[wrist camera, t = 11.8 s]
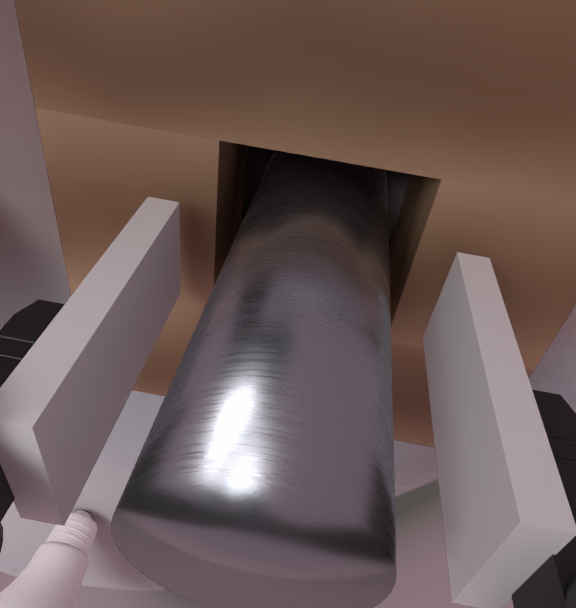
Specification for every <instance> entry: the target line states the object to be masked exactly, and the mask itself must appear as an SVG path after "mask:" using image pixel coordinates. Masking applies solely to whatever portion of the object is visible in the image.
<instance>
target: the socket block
mask: <svg viewBox="0 0 576 608" xmlns="http://www.w3.org/2000/svg"><path fill="white" fill-rule="evenodd" d="M14 1H15V6H16V12H17V17H18V22H19V27H20V32H21V38H22V43H23V48H24V53H25V58H26V64H27V69H28V74H29V79H30V84H31V90H32V95H33V100H34V105H35V110H36V116H37V121H38V126H39V131H40V136H41V141H42V147H43V152H44V157H45V162H46V167H47V173H48V178H49V183H50V188H51V193H52V199H53V204H54V209H55V214H56V219H57V225H58V230H59V235H60V240H61V245H62V251H63V256H64V261H65V266H66V271H67V277H68V282H69V287H70V292H71V296H72V294H73V293H74V292H75V290H76V289H77V288H78V287H79V285H80V284H81V283H82V281H83V280H84V279H85V277H86V276H87V275H88V274H89V272H90V271H91V270H92V268H93V267H94V266H95V265H96V263H97V262H98V261H99V259H100V258H101V257H102V255H103V254H104V253H105V252H106V250H107V249H108V248H109V246H110V245H111V244H112V243H113V241H114V240H115V239H116V237H117V236H118V235H119V233H120V232H121V231H122V230H123V228H124V227H125V226H126V224H127V223H128V222H129V221H130V219H131V218H132V217H133V215H134V214H135V213H136V211H137V210H138V209H139V208H140V206H141V205H142V204H143V202H144V201H145V200H146V199H147V197H153V198H158V199H164V200H170V201H175V202H179V213H180V281H181V293H180V295H179V297H178V299H177V301H176V303H175V305H174V307H173V309H172V311H171V313H170V315H169V317H168V319H167V321H166V323H165V325H164V327H163V329H162V331H161V333H160V335H159V337H158V339H157V341H156V343H155V345H154V347H153V349H152V351H151V353H150V355H149V357H148V359H147V361H146V363H145V365H144V367H143V369H142V371H141V373H140V375H139V377H138V379H137V381H136V383H135V385H134V387H133V389H132V390H135V391H140V392H145V393H150V394H156V395H161V396H166V394H167V392H168V389H169V387H170V385H171V383H172V380H173V378H174V376H175V374H176V371H177V369H178V367H179V364H180V362H181V360H182V358H183V355H184V353H185V351H186V349H187V346H188V344H189V342H190V339H191V337H192V335H193V333H194V330H195V328H196V326H197V324H198V321H199V319H200V317H201V315H202V312H203V310H204V308H205V305H206V303H207V301H208V299H209V296H210V294H211V292H212V290H213V287H214V285H215V283H216V280H217V278H218V276H219V274H220V271H221V269H222V267H223V265H224V262H225V260H226V258H227V255H228V253H229V251H230V249H231V246H232V244H233V242H234V240H235V237H236V235H237V233H238V231H239V228H240V226H241V224H242V215H243V201H244V188H245V175H246V162H247V149H248V146H254V147H259V148H265V149H271V150H277V151H282V152H288V153H294V154H299V155H305V156H311V157H316V158H322V159H328V160H333V161H339V162H345V163H351V164H356V165H362V166H368V167H373V168H379V169H385V170H390V171H396V172H402V173H407V174H411V177H410V180H409V184H408V187H407V190H406V194H405V197H404V200H403V204H402V207H401V210H400V214H399V217H398V220H397V224H396V227H395V230H394V234H393V237H392V240H391V244H390V247H389V265H390V310H391V354H392V399H393V440H398V441H403V442H408V443H414V444H419V445H424V446H430V447H435V444H434V435H433V426H432V417H431V408H430V399H429V389H428V380H427V371H426V362H425V353H424V344H423V335H424V333H425V330H426V328H427V325H428V323H429V320H430V318H431V315H432V313H433V311H434V308H435V306H436V303H437V301H438V298H439V296H440V293H441V291H442V288H443V286H444V283H445V281H446V278H447V276H448V274H449V271H450V269H451V266H452V264H453V261H454V259H455V256H456V254H457V252H459V253H465V254H471V255H476V256H482V257H487V258H490V261H491V264H492V267H493V270H494V273H495V276H496V279H497V282H498V285H499V289H500V292H501V295H502V298H503V301H504V304H505V307H506V310H507V313H508V317H509V320H510V323H511V326H512V329H513V332H514V335H515V338H516V341H517V344H518V348H519V351H520V354H521V357H522V360H523V363H524V366H525V369H526V372H527V375H528V379H529V377H530V376H531V374H532V372H533V371H534V369H535V368H536V366H537V365H538V363H539V361H540V360H541V358H542V357H543V355H544V354H545V352H546V350H547V349H548V347H549V346H550V344H551V343H552V341H553V339H554V338H555V336H556V335H557V333H558V332H559V330H560V328H561V327H562V325H563V324H564V322H565V321H566V319H567V317H568V316H569V314H570V313H571V311H572V309H573V308H574V306H575V305H576V0H14Z"/></svg>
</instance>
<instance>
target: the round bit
mask: <svg viewBox="0 0 576 608" xmlns="http://www.w3.org/2000/svg"><path fill="white" fill-rule="evenodd" d="M111 528H112V535H113V538H114V541H115V543H116V545H117V546H118V548H119V550H120V551H121V553H122V554H123V555H124V556H125V558H126V559H127V560H128V561H129V562H130V563H131V564H132V565H133V566H134V567H135V568H136V569H138V570H139V571H140V572H141V573H143V574H144V575H145V576H147V577H148V578H150V579H151V580H153V581H154V582H156V583H157V584H159V585H161V586H163V587H164V588H166V589H168V590H170V591H172V592H174V593H177V594H178V595H180V596H182V597H185V598H187V599H190V600H192V601H195V602H197V603H200V604H203V605H206V606H209V607H212V608H373V607H375V606H376V605H378V604H379V603H381V602H382V601H383V600H384V599H386V597H387V596H388V595H389V594H390V592H391V591H392V589H393V587H394V585H395V581H396V537H395V535H396V534H395V489H394V444H393V399H392V354H391V310H390V265H389V220H388V182H387V174H386V170H385V169H379V168H373V167H368V166H362V165H356V164H351V163H345V162H339V161H333V160H328V159H322V158H316V157H311V156H305V155H299V154H294V153H288V152H282V151H277V150H275V152H274V153H273V155H272V156H271V158H270V160H269V162H268V165H267V167H266V169H265V172H264V174H263V176H262V178H261V181H260V183H259V185H258V187H257V190H256V192H255V194H254V196H253V199H252V201H251V203H250V206H249V208H248V210H247V212H246V215H245V217H244V219H243V221H242V224H241V226H240V228H239V231H238V233H237V235H236V237H235V240H234V242H233V244H232V246H231V249H230V251H229V253H228V255H227V258H226V260H225V262H224V265H223V267H222V269H221V271H220V274H219V276H218V278H217V280H216V283H215V285H214V287H213V290H212V292H211V294H210V296H209V299H208V301H207V303H206V305H205V308H204V310H203V312H202V315H201V317H200V319H199V321H198V324H197V326H196V328H195V330H194V333H193V335H192V337H191V339H190V342H189V344H188V346H187V349H186V351H185V353H184V355H183V358H182V360H181V362H180V364H179V367H178V369H177V371H176V374H175V376H174V378H173V380H172V383H171V385H170V387H169V389H168V392H167V394H166V396H165V399H164V401H163V403H162V405H161V408H160V410H159V412H158V414H157V417H156V419H155V421H154V423H153V426H152V428H151V430H150V433H149V435H148V437H147V439H146V442H145V444H144V446H143V448H142V451H141V453H140V455H139V458H138V460H137V462H136V464H135V467H134V469H133V471H132V473H131V476H130V478H129V480H128V482H127V485H126V487H125V489H124V492H123V494H122V496H121V498H120V501H119V503H118V505H117V507H116V510H115V512H114V514H113V518H112V523H111Z"/></svg>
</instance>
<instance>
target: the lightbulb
mask: <svg viewBox="0 0 576 608" xmlns="http://www.w3.org/2000/svg"><path fill="white" fill-rule="evenodd" d="M97 530H98V528H97V525H96V523H95V522H94V521H93V520H92V519H91V515H90V514H89V513H87V512H85V511H81V510H79V511H76V512H75V513H70V515H69V517H68V519H67V521H66V523H65V525H64V526H62V525H57V524H56V525H55V527H54V528H53V530H52V532H51V533H50V535H49V537H48V539H47V541H46V542H45V543H44V544H43V545H41V546H40V547H39V548H38V549H37V551H36V553H35V554H34V556H33V558H32V559H31V561H30V562H29V564H28V565H27V566H26V568H25V569H24V570H23V571H22V573H21V574H20V575H19V576H18V577H17V578H16V579H15V580H14V581H13V582H12V583H11V584H10V585H9V586H8V587H7V588H6V589H4V590H3V591H2V592H0V608H78V603H79V592H80V588H81V584H82V580H83V577H84V574H85V572H86V569H87V566H88V559H87V557H88V554H89V552H90V549H91V547H92V544H93V541H94V539H95V536H96V533H97Z"/></svg>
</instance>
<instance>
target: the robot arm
mask: <svg viewBox="0 0 576 608" xmlns="http://www.w3.org/2000/svg"><path fill="white" fill-rule="evenodd" d="M180 293H181V281H180V213H179V202H175V201H170V200H164V199H158V198H153V197H147V199H146V200H145V201H144V202H143V204H142V205H141V206H140V208H139V209H138V210H137V211H136V213H135V214H134V215H133V217H132V218H131V219H130V221H129V222H128V223H127V224H126V226H125V227H124V228H123V230H122V231H121V232H120V233H119V235H118V236H117V237H116V239H115V240H114V241H113V243H112V244H111V245H110V246H109V248H108V249H107V250H106V252H105V253H104V254H103V255H102V257H101V258H100V259H99V261H98V262H97V263H96V265H95V266H94V267H93V268H92V270H91V271H90V272H89V274H88V275H87V276H86V277H85V279H84V280H83V281H82V283H81V284H80V285H79V287H78V288H77V289H76V290H75V292H74V293H73V294H72V296H71V297H70V298H69V299H68V301H67V302H66V303H65V304H60V303H54V302H49V301H44V300H37V301H36V302H34V303H32V304H31V305H29V306H27V307H26V308H24V309H22V310H21V311H19V312H17V313H16V314H14V315H13V316H12V317H11V319H10V320H9V321H8V322H7V323H6V324H5V325H4V326H3V328H2V329H1V330H0V522H1V520H2V519H3V517H4V515H5V514H6V512H7V510H8V509H9V507H10V506H11V504H12V502H13V501H14V503H15V505H16V508H17V510H18V512H19V515H20V517H21V518H26V519H31V520H36V521H41V522H46V523H51V524H57V525H62V526H64V525H65V523H66V521H67V519H68V517H69V515H70V513H71V511H72V509H73V507H74V505H75V503H76V501H77V499H78V497H79V495H80V493H81V491H82V489H83V487H84V485H85V483H86V481H87V479H88V477H89V475H90V473H91V471H92V469H93V467H94V465H95V463H96V461H97V459H98V457H99V455H100V453H101V451H102V449H103V447H104V445H105V443H106V441H107V439H108V437H109V435H110V433H111V431H112V429H113V427H114V425H115V423H116V421H117V419H118V417H119V415H120V413H121V411H122V409H123V407H124V405H125V403H126V401H127V399H128V397H129V395H130V393H131V391H132V389H133V387H134V385H135V383H136V381H137V379H138V377H139V375H140V373H141V371H142V369H143V367H144V365H145V363H146V361H147V359H148V357H149V355H150V353H151V351H152V349H153V347H154V345H155V343H156V341H157V339H158V337H159V335H160V333H161V331H162V329H163V327H164V325H165V323H166V321H167V319H168V317H169V315H170V313H171V311H172V309H173V307H174V305H175V303H176V301H177V299H178V297H179V295H180ZM423 344H424V353H425V362H426V371H427V380H428V389H429V399H430V408H431V417H432V426H433V435H434V444H435V453H436V462H437V471H438V481H439V490H440V498H441V508H442V517H443V526H444V535H445V544H446V553H447V563H448V571H449V580H450V589H451V599H452V603H456V604H461V605H467V606H471V607H476V608H502V607H503V606H504V605H505V604H506V603H507V602H508V601H509V600H510V599H511V598H512V600H513V605H514V608H576V413H575V412H574V411H573V410H572V409H571V407H570V406H569V405H568V404H567V402H566V401H565V400H564V399H563V398H562V396H561V395H558V394H552V393H547V392H541V391H536V390H532V388H531V385H530V382H529V379H528V375H527V372H526V369H525V366H524V363H523V360H522V357H521V354H520V351H519V348H518V344H517V341H516V338H515V335H514V332H513V329H512V326H511V323H510V320H509V317H508V313H507V310H506V307H505V304H504V301H503V298H502V295H501V292H500V289H499V285H498V282H497V279H496V276H495V273H494V270H493V267H492V264H491V261H490V258H487V257H482V256H476V255H471V254H465V253H459V252H457V254H456V256H455V259H454V261H453V264H452V266H451V269H450V271H449V274H448V276H447V278H446V281H445V283H444V286H443V288H442V291H441V293H440V296H439V298H438V301H437V303H436V306H435V308H434V311H433V313H432V315H431V318H430V320H429V323H428V325H427V328H426V330H425V333H424V335H423ZM2 543H3V527H2V525H1V523H0V552H1V548H2Z"/></svg>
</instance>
